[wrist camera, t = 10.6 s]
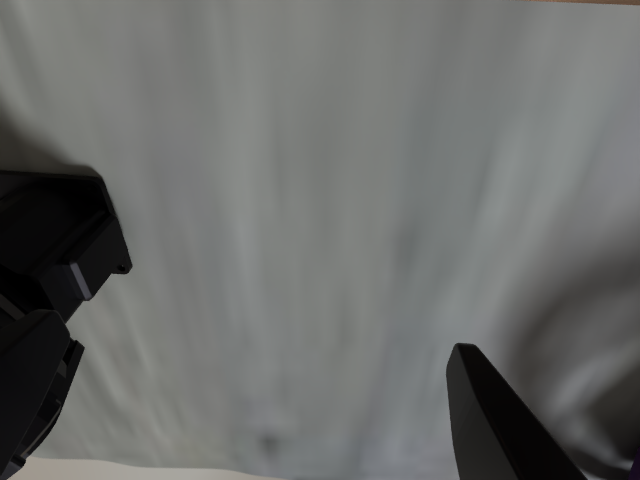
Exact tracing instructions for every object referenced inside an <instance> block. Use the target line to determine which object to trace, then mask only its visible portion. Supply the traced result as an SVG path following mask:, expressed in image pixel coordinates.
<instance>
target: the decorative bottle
mask: <svg viewBox="0 0 640 480" xmlns="http://www.w3.org/2000/svg"><path fill="white" fill-rule="evenodd" d="M628 480H640V446H639V447H638V450H637V453H636V456H635V459H634V462H633V465H632V468H631V471H630V474H629V477H628Z"/></svg>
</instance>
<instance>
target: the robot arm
mask: <svg viewBox="0 0 640 480" xmlns="http://www.w3.org/2000/svg"><path fill="white" fill-rule="evenodd" d="M92 185H94V186H95V187H96V188H97V189H95V188H94V187H93V186H92ZM123 266H124V267H123ZM131 269H132V262H131V260H130V257H129V254H128V249H127V246H126V243H125V240H124V237H123V234H122V231H121V228H120V225H119V222H118V219H117V217H116V215H115V212H114V209H113V206H112V204H111V201H110V198H109V195H108V192H107V189H106V186H105V184H104V182H103V181H102V180H101V179H99V178H97V177H93V176H77V175H61V174H45V173H29V172H14V171H0V480H7V479H8V478H9V477H11V476H12V475H13V474H15V473H16V472H17V471H18V470H20V469H21V468H22V467H23V466H24V464H25V463H26V458H27V457H28V456H30V455H31V454H32V453H33V451H34V450H35V449H36V448H37V447H38V446H39V445H40V444H41V443H42V442H43V440H44V439H45V438H46V437H47V436H48V434H49V433H50V431H51V430H52V428H53V427H54V425H55V424H56V421H57V419H58V417H59V415H60V413H61V410H62V407H63V405H64V402H65V399H66V397H67V394H68V391H69V389H70V386H71V383H72V381H73V378H74V375H75V373H76V370H77V367H78V365H79V362H80V359H81V357H82V354H83V351H84V349H85V347H84V346H83V345H82V344H81V343H79V342H78V341H77V340H75V341H74V340H73V339H72V338H71V337H70V333H69V331H68V329H67V327H66V325H65V324H66V322H67V321H68V320H69V319H70V317H71V316H72V315H73V314H74V312H75V311H76V310H77V308H78V307H79V306H80V305H81V303H82V302H83V301H90V300H91V299H92V298H93V297H94V296H95V294H96V293H97V292H98V290H99V289H100V288H101V286H102V285H103V284H104V283H105V281H106V280H107V279H108V277H109V276H110V275H111V273H112V274H127V273H129V271H130V270H131ZM446 378H447V389H448V399H449V410H450V421H451V431H452V440H453V447H454V453H455V458H456V463H457V468H458V473H459V477H460V480H588V479H587V478H586V477H585V476H584V474H583V473H582V472H581V471H580V470H579V468H578V467H577V466H576V465H575V464H574V462H573V461H572V460H571V459H570V458H569V456H568V455H567V454H566V453H565V452H564V450H563V449H562V448H561V447H560V445H559V444H558V443H557V442H556V441H555V439H554V438H553V437H552V436H551V435H550V433H549V432H548V431H547V430H546V429H545V427H544V426H543V425H542V424H541V423H540V421H539V420H538V419H537V418H536V417H535V415H534V414H533V413H532V412H531V411H530V409H529V408H528V407H527V406H526V405H525V403H524V402H523V401H522V400H521V399H520V397H519V396H518V395H517V394H516V393H515V391H514V390H513V389H512V388H511V386H510V385H509V384H508V383H507V382H506V380H505V379H504V378H503V377H502V376H501V374H500V373H499V372H498V371H497V370H496V368H495V367H494V366H493V365H492V364H491V362H490V361H489V360H488V359H487V358H486V356H485V355H484V354H483V353H482V352H481V350H480V349H479V348H478V347H477V346H476V345H474V344H467V343H457V344H455V345H454V347H453V350H452V353H451V356H450V358H449V361H448V364H447V368H446Z"/></svg>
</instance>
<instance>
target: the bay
mask: <svg viewBox="0 0 640 480" xmlns="http://www.w3.org/2000/svg"><path fill="white" fill-rule="evenodd" d="M522 1H547V2H572V3H597V4H622V5H640V0H522Z"/></svg>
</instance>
